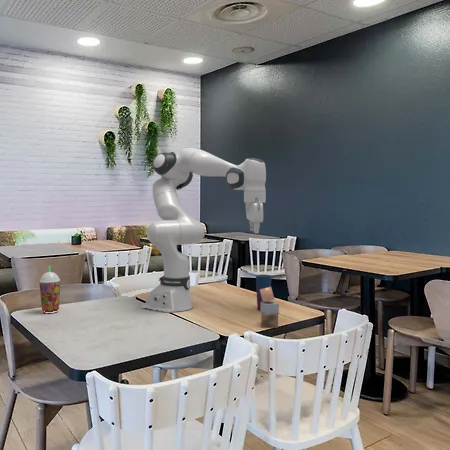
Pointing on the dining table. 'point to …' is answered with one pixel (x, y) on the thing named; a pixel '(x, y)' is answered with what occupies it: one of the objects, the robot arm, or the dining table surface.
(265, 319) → the tower base
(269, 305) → the tower top block
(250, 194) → the robot arm
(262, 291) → the orange brown block
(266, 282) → the cup
